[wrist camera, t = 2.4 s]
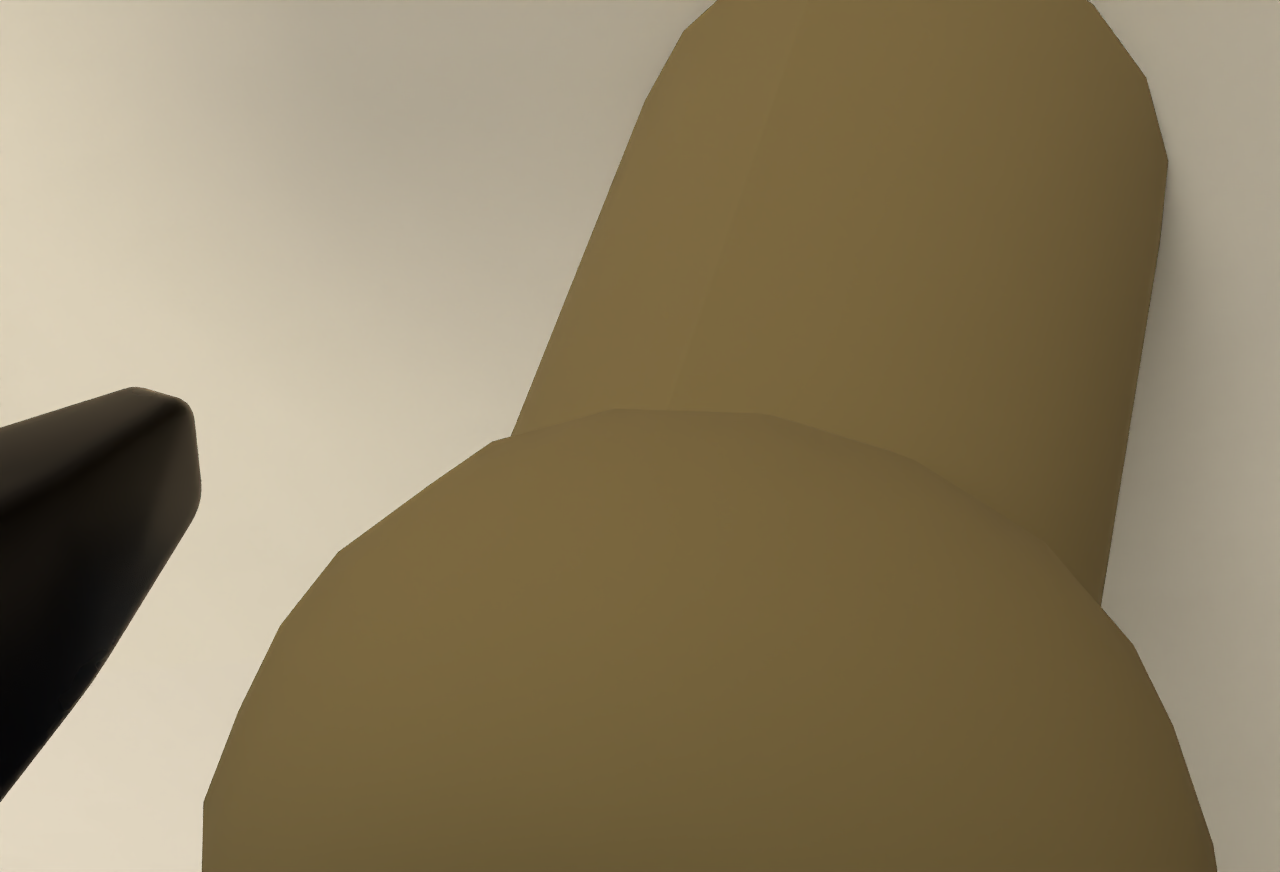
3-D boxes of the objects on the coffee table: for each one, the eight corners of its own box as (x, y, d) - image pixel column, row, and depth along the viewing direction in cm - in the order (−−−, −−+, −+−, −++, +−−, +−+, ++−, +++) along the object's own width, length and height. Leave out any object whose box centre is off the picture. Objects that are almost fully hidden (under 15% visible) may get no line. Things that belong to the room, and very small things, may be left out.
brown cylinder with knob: (1095, 465, 15) (1157, 1662, 6) (628, 387, 16) (137, 1289, 8) (1242, -45, 12) (1834, 1026, 3) (635, -93, 13) (-252, 541, 4)
